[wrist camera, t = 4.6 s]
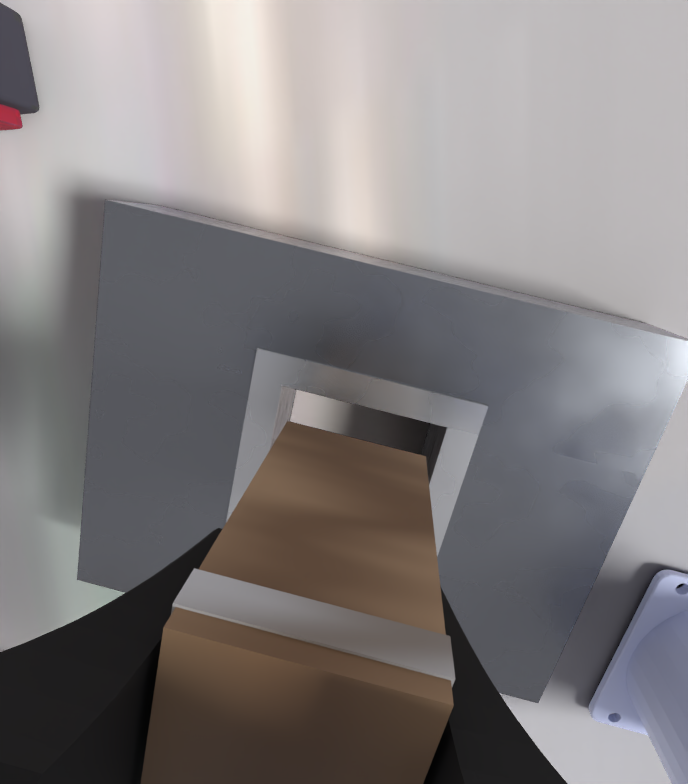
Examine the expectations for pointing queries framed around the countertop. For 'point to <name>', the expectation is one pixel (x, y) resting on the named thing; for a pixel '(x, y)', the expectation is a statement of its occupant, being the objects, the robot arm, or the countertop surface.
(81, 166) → the countertop surface
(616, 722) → the robot arm
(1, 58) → the black rectangular box
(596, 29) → the countertop surface
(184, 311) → the grey peg hole board
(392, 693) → the key peg
